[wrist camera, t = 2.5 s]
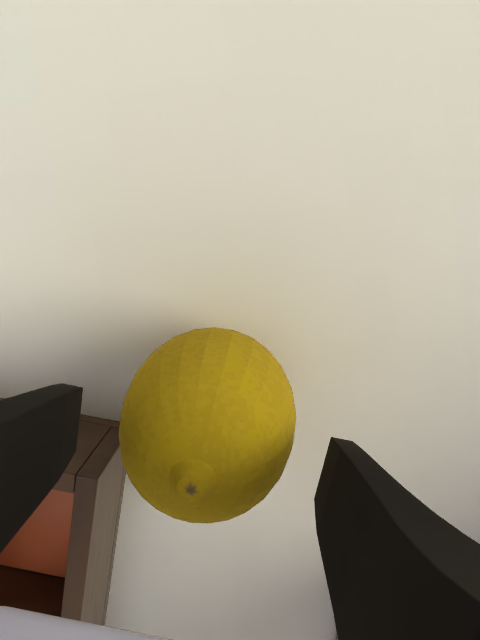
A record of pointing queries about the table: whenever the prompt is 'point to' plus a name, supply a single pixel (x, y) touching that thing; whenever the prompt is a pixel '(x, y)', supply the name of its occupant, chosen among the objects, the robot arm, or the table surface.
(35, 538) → the caddy
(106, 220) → the table surface
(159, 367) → the lemon
